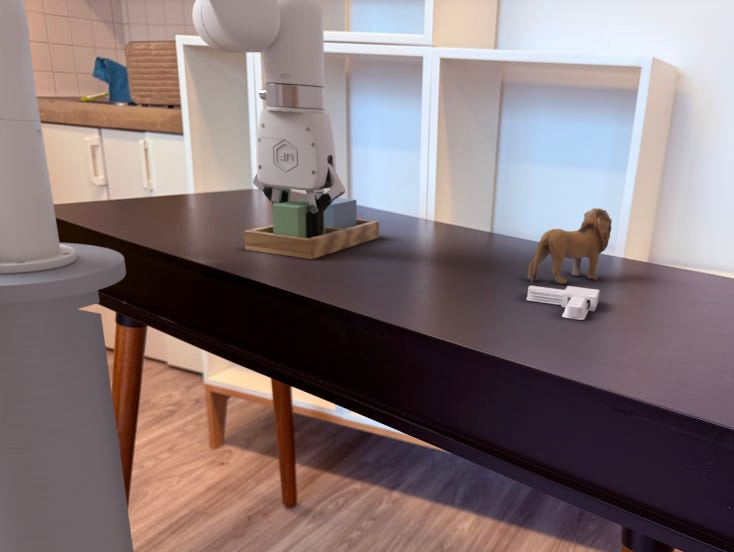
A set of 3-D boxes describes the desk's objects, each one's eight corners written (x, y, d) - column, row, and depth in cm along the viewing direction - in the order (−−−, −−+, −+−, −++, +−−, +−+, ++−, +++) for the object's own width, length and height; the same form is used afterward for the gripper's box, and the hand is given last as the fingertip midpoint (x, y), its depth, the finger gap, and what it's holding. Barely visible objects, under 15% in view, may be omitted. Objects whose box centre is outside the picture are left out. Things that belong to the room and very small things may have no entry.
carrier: (311, 259, 89) (311, 240, 88) (245, 249, 92) (244, 230, 91) (379, 237, 107) (379, 221, 106) (321, 230, 109) (321, 214, 109)
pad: (298, 244, 91) (297, 207, 89) (273, 241, 92) (272, 204, 90) (325, 236, 97) (324, 202, 95) (301, 233, 98) (300, 199, 96)
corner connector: (516, 311, 72) (517, 296, 71) (530, 294, 79) (532, 281, 79) (589, 321, 70) (591, 306, 70) (597, 303, 77) (599, 289, 77)
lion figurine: (583, 268, 95) (591, 205, 92) (614, 276, 92) (623, 210, 88) (515, 281, 85) (521, 210, 82) (548, 290, 81) (555, 216, 78)
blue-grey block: (334, 238, 99) (333, 204, 98) (310, 234, 101) (310, 201, 99) (356, 231, 106) (356, 199, 104) (334, 228, 107) (334, 197, 105)
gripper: (223, 95, 87) (233, 235, 93) (337, 103, 82) (339, 249, 89) (259, 97, 94) (265, 228, 100) (365, 105, 89) (365, 241, 95)
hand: (300, 236), depth 94 cm, fingers closed on pad, 4 cm apart
